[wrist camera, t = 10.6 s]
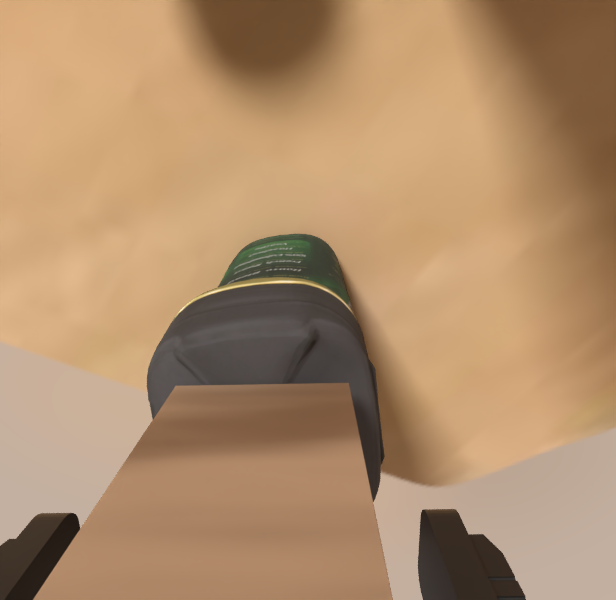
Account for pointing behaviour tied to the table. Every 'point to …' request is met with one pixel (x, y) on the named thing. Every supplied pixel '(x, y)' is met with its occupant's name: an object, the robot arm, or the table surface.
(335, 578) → the walnut block
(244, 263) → the coffee jar
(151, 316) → the table surface
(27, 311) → the table surface
